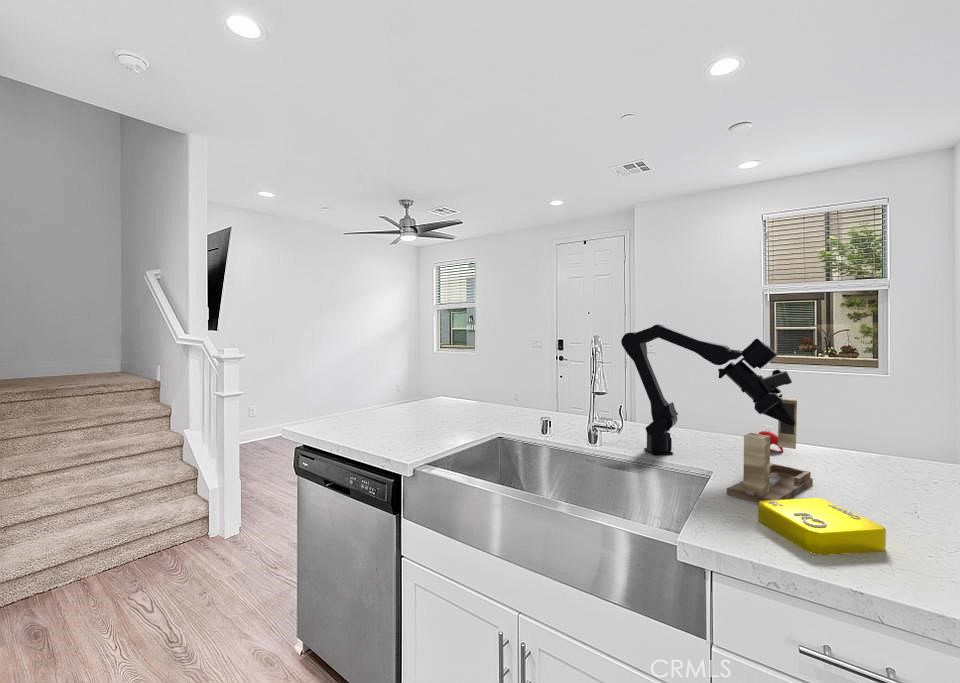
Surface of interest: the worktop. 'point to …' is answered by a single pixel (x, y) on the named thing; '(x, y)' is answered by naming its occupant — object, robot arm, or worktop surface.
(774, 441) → the cap
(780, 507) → the element tile
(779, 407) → the robot arm
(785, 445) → the tan wooden upright block
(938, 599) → the worktop surface
